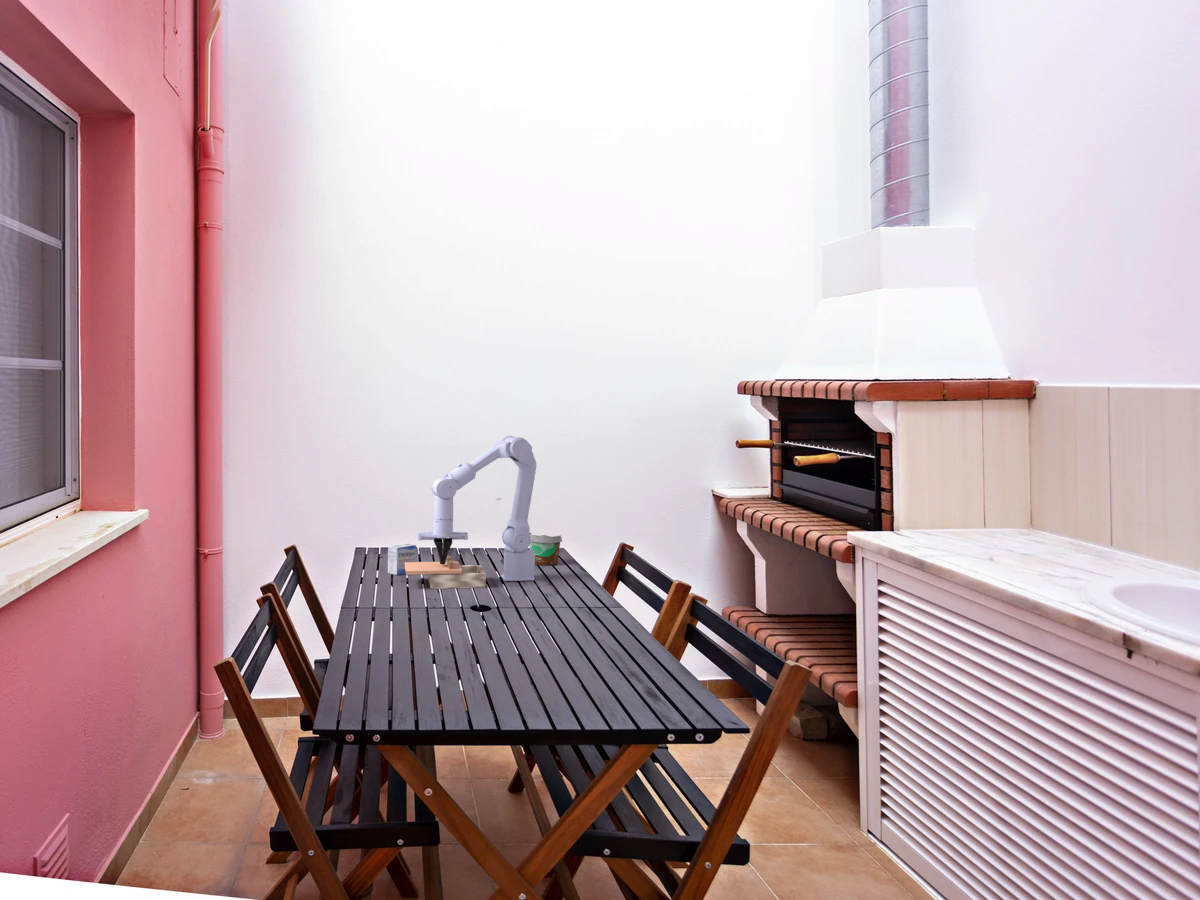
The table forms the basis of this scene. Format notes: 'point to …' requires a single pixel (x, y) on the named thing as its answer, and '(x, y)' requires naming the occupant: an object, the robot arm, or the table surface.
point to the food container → (545, 549)
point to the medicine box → (400, 558)
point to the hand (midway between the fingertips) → (442, 563)
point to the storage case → (459, 578)
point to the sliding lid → (433, 567)
